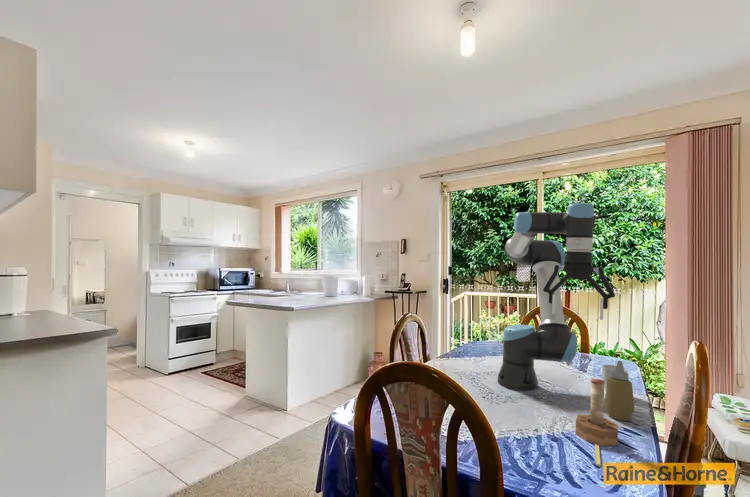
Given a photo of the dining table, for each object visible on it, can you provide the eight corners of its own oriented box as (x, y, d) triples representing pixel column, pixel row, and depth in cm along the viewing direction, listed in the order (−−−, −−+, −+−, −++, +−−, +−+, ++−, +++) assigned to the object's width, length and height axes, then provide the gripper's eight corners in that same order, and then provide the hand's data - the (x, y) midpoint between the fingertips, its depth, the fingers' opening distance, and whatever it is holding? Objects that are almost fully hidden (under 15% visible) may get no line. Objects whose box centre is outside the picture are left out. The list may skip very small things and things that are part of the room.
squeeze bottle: (635, 425, 112) (636, 366, 112) (604, 418, 116) (605, 361, 116) (633, 416, 119) (634, 360, 119) (603, 410, 123) (605, 356, 123)
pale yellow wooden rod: (600, 466, 88) (600, 464, 88) (596, 465, 89) (596, 463, 89) (598, 446, 98) (598, 445, 98) (595, 445, 98) (595, 444, 98)
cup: (631, 399, 133) (631, 372, 134) (606, 397, 135) (607, 370, 135) (620, 391, 141) (621, 365, 142) (597, 389, 143) (598, 363, 143)
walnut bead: (574, 437, 103) (574, 423, 103) (578, 425, 111) (578, 411, 111) (617, 449, 97) (617, 434, 97) (617, 435, 105) (618, 421, 105)
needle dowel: (589, 437, 103) (590, 380, 104) (590, 432, 106) (591, 377, 106) (603, 441, 101) (604, 383, 102) (603, 436, 104) (604, 380, 104)
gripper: (535, 249, 122) (533, 312, 122) (625, 252, 108) (623, 323, 108) (539, 249, 128) (537, 309, 128) (625, 252, 114) (623, 319, 114)
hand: (576, 316), depth 118 cm, fingers open, 13 cm apart
